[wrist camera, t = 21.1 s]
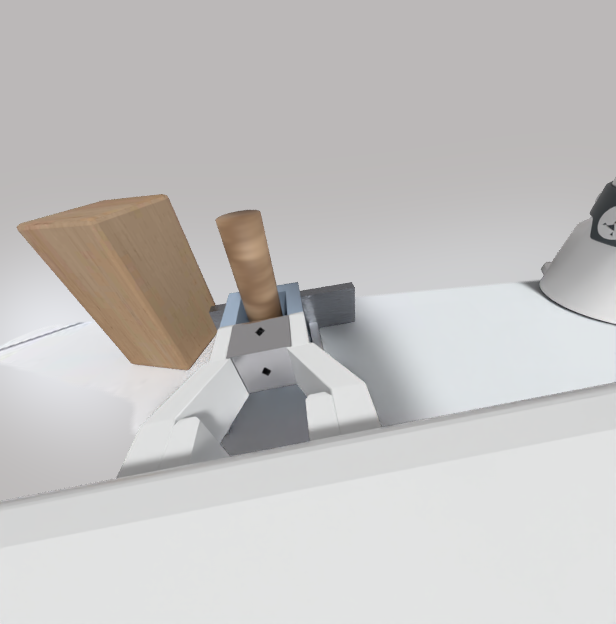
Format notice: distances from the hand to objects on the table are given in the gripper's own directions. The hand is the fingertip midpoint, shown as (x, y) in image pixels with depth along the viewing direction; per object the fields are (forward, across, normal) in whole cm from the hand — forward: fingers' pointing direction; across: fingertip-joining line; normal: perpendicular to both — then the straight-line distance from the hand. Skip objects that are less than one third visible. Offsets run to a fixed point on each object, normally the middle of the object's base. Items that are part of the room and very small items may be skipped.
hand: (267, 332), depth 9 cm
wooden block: (+22, +19, +18) cm, 34 cm away
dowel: (+16, +4, +16) cm, 22 cm away
